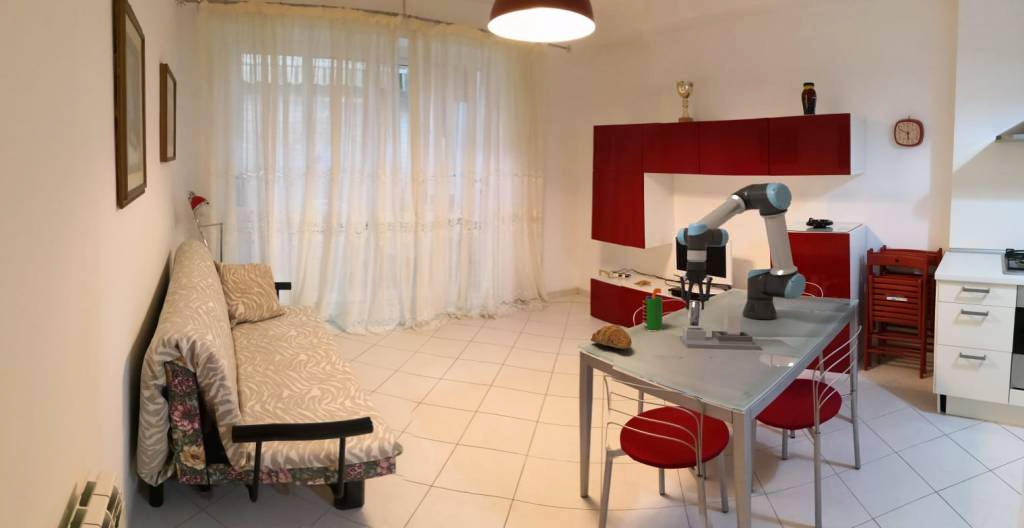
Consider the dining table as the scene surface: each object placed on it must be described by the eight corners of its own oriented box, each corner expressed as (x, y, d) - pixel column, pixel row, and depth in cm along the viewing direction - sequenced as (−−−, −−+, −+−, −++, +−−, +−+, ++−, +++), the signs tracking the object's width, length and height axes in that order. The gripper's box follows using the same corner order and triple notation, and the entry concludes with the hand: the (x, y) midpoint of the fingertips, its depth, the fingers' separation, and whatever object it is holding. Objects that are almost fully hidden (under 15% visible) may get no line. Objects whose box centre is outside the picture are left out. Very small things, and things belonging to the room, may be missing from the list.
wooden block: (736, 337, 256) (736, 313, 255) (739, 340, 250) (740, 315, 249) (723, 337, 256) (724, 313, 255) (726, 339, 250) (727, 315, 249)
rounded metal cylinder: (697, 324, 259) (698, 300, 259) (699, 326, 256) (700, 301, 255) (689, 324, 260) (690, 300, 259) (690, 325, 256) (691, 301, 256)
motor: (638, 330, 285) (639, 286, 284) (657, 330, 286) (659, 287, 285) (645, 334, 275) (646, 289, 274) (665, 334, 276) (666, 289, 274)
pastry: (583, 342, 255) (584, 323, 254) (606, 339, 263) (606, 320, 262) (621, 351, 239) (621, 330, 238) (644, 347, 246) (644, 327, 246)
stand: (747, 341, 261) (748, 328, 261) (760, 349, 243) (761, 336, 243) (679, 339, 264) (679, 326, 263) (687, 347, 246) (687, 333, 246)
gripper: (714, 260, 259) (712, 316, 261) (674, 260, 261) (672, 315, 262) (719, 261, 252) (717, 319, 253) (677, 261, 253) (675, 318, 255)
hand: (694, 317), depth 258 cm, fingers closed on rounded metal cylinder, 3 cm apart
